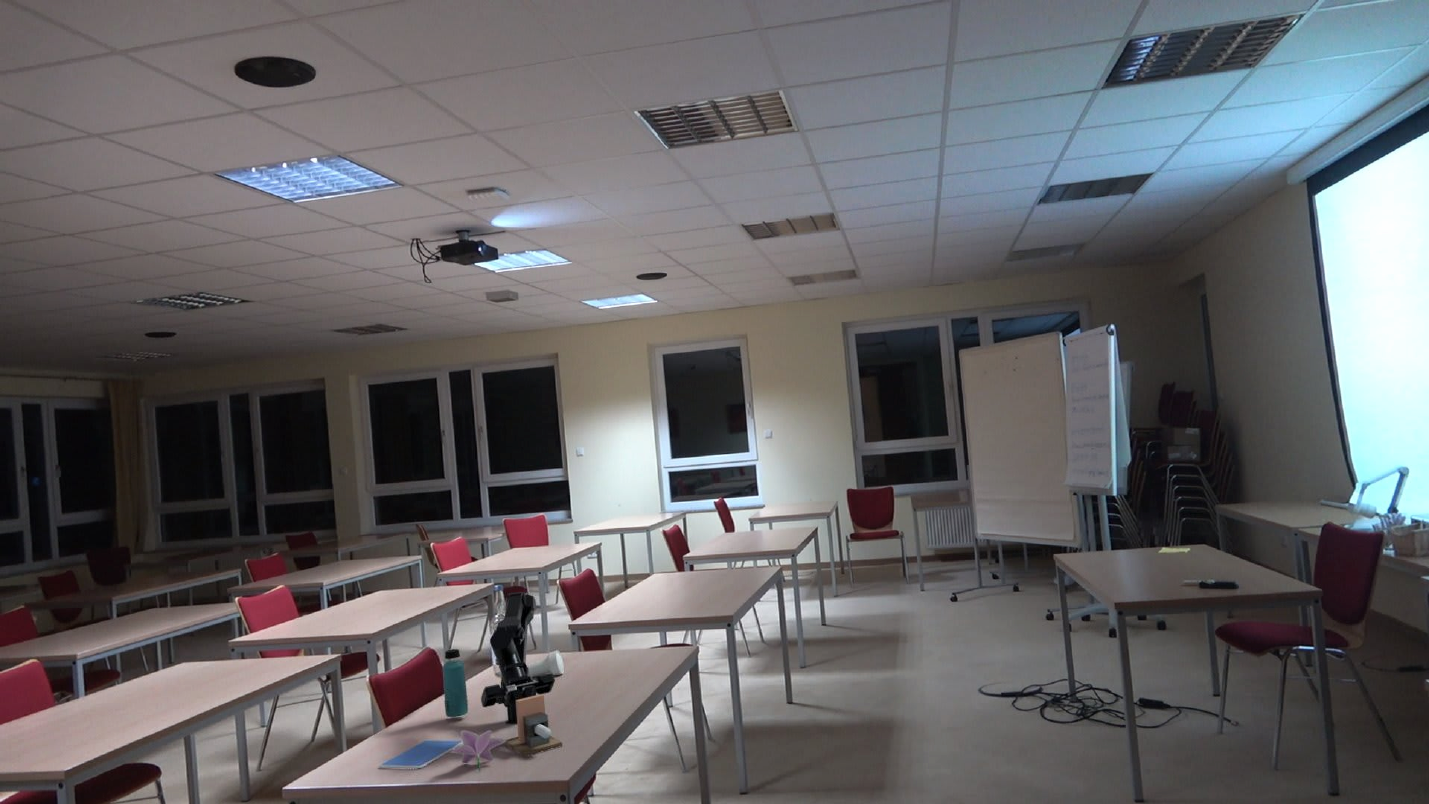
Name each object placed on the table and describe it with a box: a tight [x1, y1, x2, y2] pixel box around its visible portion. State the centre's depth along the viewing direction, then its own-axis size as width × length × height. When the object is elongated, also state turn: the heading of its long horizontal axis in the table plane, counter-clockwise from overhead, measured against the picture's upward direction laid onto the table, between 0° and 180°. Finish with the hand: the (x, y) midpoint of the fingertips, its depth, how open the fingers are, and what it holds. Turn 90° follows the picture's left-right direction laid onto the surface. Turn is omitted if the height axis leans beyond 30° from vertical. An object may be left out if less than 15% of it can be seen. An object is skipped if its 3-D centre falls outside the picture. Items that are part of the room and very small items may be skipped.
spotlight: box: [527, 650, 565, 678], centre depth 298 cm, size 8×11×8 cm
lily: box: [450, 729, 507, 772], centre depth 210 cm, size 12×12×10 cm
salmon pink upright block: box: [516, 694, 552, 744], centre depth 220 cm, size 10×7×10 cm
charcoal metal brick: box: [523, 712, 550, 748], centre depth 221 cm, size 4×5×7 cm
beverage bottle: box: [441, 648, 469, 718], centre depth 255 cm, size 6×7×20 cm
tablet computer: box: [378, 740, 464, 770], centre depth 224 cm, size 19×13×1 cm, turn 163°
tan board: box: [503, 735, 563, 758], centre depth 224 cm, size 14×10×1 cm
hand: (527, 718), depth 224 cm, fingers closed, pressing on salmon pink upright block
